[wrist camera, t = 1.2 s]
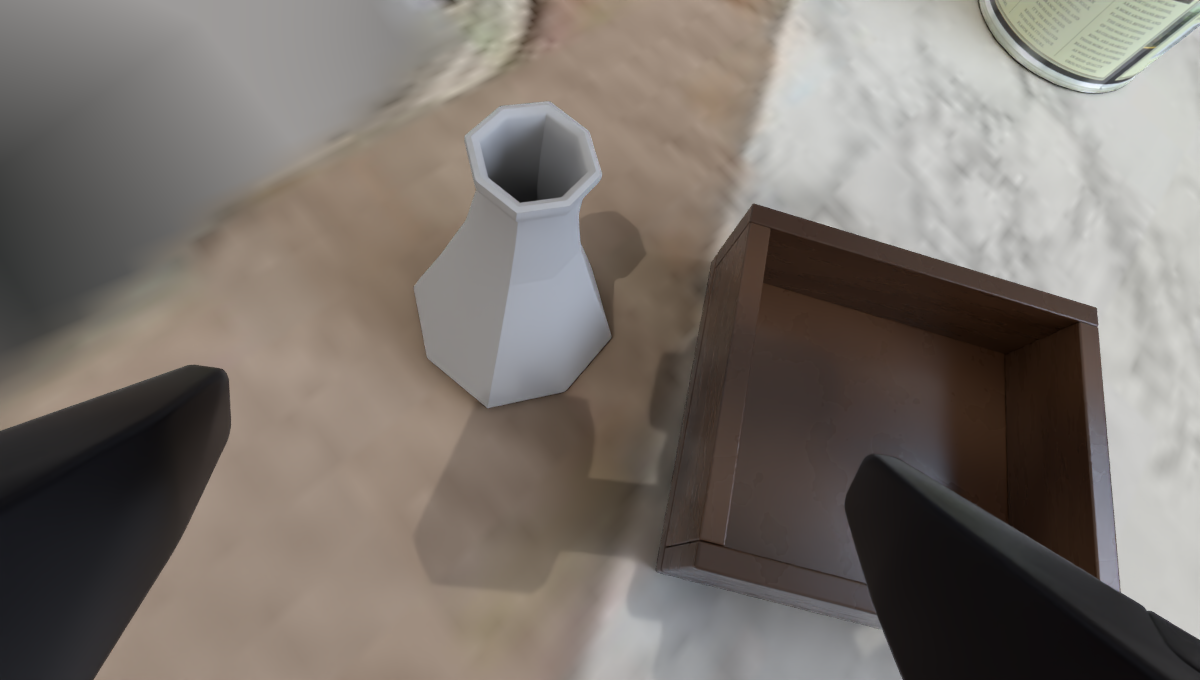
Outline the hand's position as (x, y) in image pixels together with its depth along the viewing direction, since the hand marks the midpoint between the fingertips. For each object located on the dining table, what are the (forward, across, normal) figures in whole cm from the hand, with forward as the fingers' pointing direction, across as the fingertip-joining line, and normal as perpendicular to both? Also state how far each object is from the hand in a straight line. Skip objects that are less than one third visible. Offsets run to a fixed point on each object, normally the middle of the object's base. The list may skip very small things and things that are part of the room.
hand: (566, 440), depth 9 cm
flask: (+15, +1, +5) cm, 16 cm away
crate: (+12, -13, +7) cm, 19 cm away
